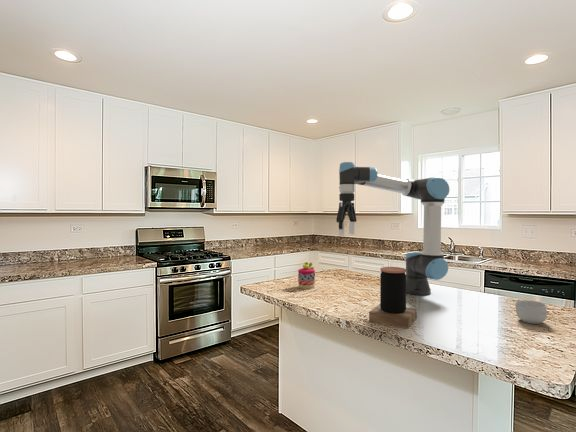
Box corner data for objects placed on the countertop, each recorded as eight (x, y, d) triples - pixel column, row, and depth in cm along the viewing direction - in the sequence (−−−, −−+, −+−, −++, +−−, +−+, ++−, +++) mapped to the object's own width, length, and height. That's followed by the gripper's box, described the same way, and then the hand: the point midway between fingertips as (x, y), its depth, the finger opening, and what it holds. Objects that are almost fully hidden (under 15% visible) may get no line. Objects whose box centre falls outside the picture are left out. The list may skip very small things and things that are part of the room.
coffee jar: (410, 310, 145) (410, 268, 144) (399, 315, 137) (399, 271, 136) (387, 305, 152) (387, 265, 152) (375, 310, 144) (375, 268, 144)
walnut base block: (380, 311, 155) (380, 303, 155) (416, 317, 147) (416, 308, 147) (369, 321, 142) (369, 312, 142) (408, 328, 133) (408, 318, 133)
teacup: (548, 327, 134) (548, 307, 134) (515, 323, 140) (515, 304, 140) (544, 318, 146) (544, 300, 146) (514, 314, 152) (514, 296, 152)
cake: (315, 289, 200) (315, 264, 200) (298, 289, 200) (298, 264, 200) (314, 285, 211) (314, 261, 210) (297, 285, 211) (297, 261, 211)
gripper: (349, 194, 182) (349, 233, 182) (329, 192, 161) (329, 236, 161) (362, 193, 178) (362, 233, 178) (344, 191, 157) (343, 236, 157)
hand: (346, 235), depth 169 cm, fingers open, 13 cm apart
